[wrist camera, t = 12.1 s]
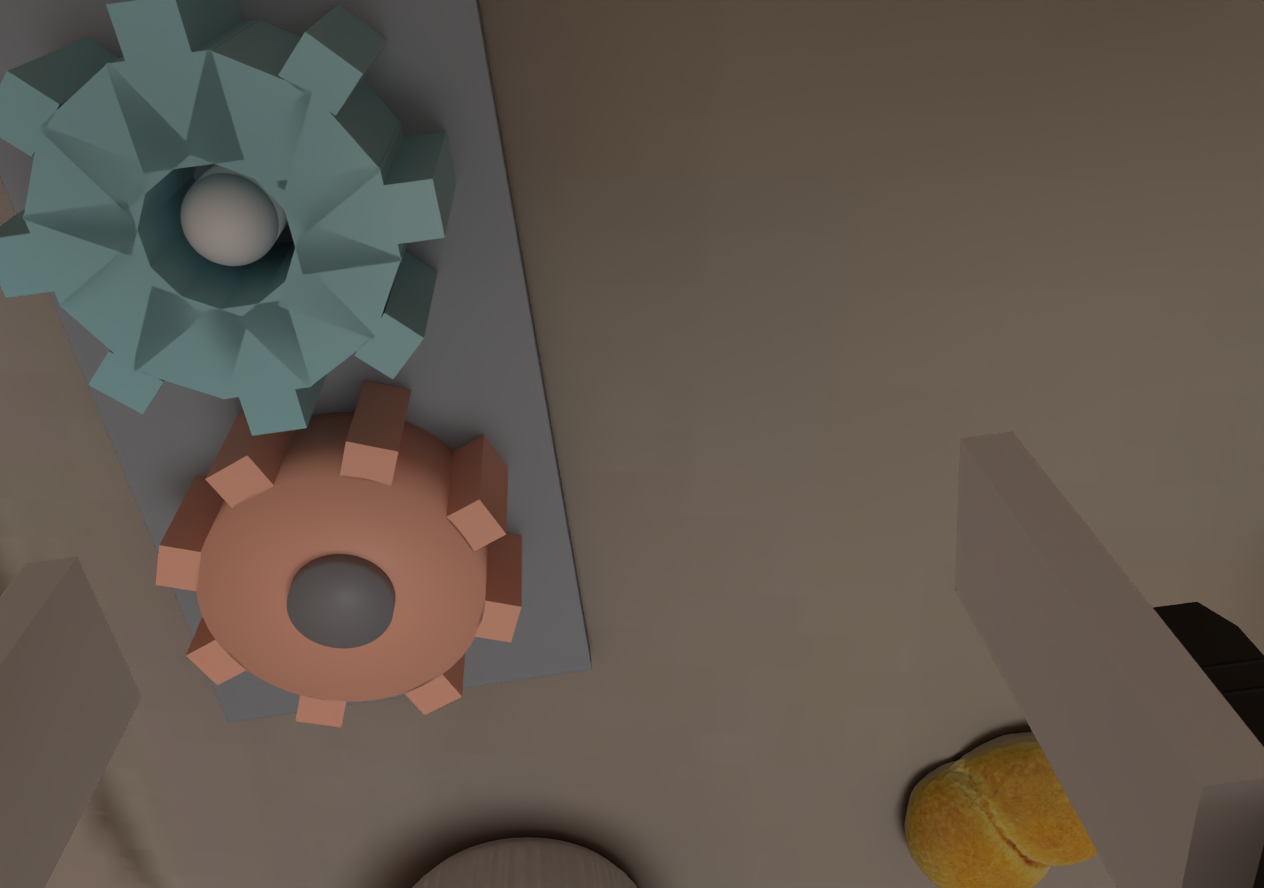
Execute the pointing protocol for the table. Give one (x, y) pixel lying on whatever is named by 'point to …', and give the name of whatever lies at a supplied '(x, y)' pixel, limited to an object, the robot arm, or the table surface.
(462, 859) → the ramekin
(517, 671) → the gear board
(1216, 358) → the table surface
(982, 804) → the bread roll
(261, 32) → the teal gear
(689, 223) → the table surface
